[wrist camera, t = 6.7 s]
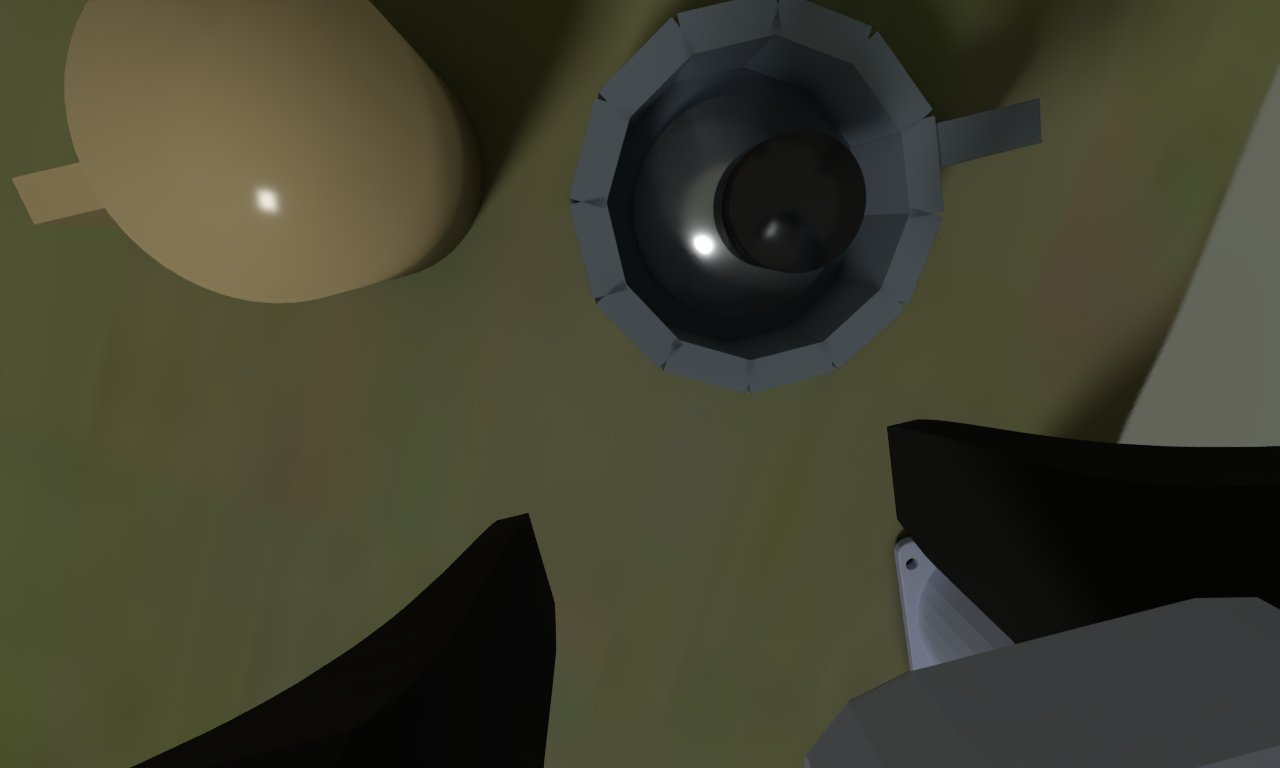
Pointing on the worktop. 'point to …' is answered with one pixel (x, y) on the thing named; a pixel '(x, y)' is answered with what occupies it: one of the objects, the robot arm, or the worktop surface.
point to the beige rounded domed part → (262, 145)
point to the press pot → (837, 105)
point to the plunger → (744, 205)
